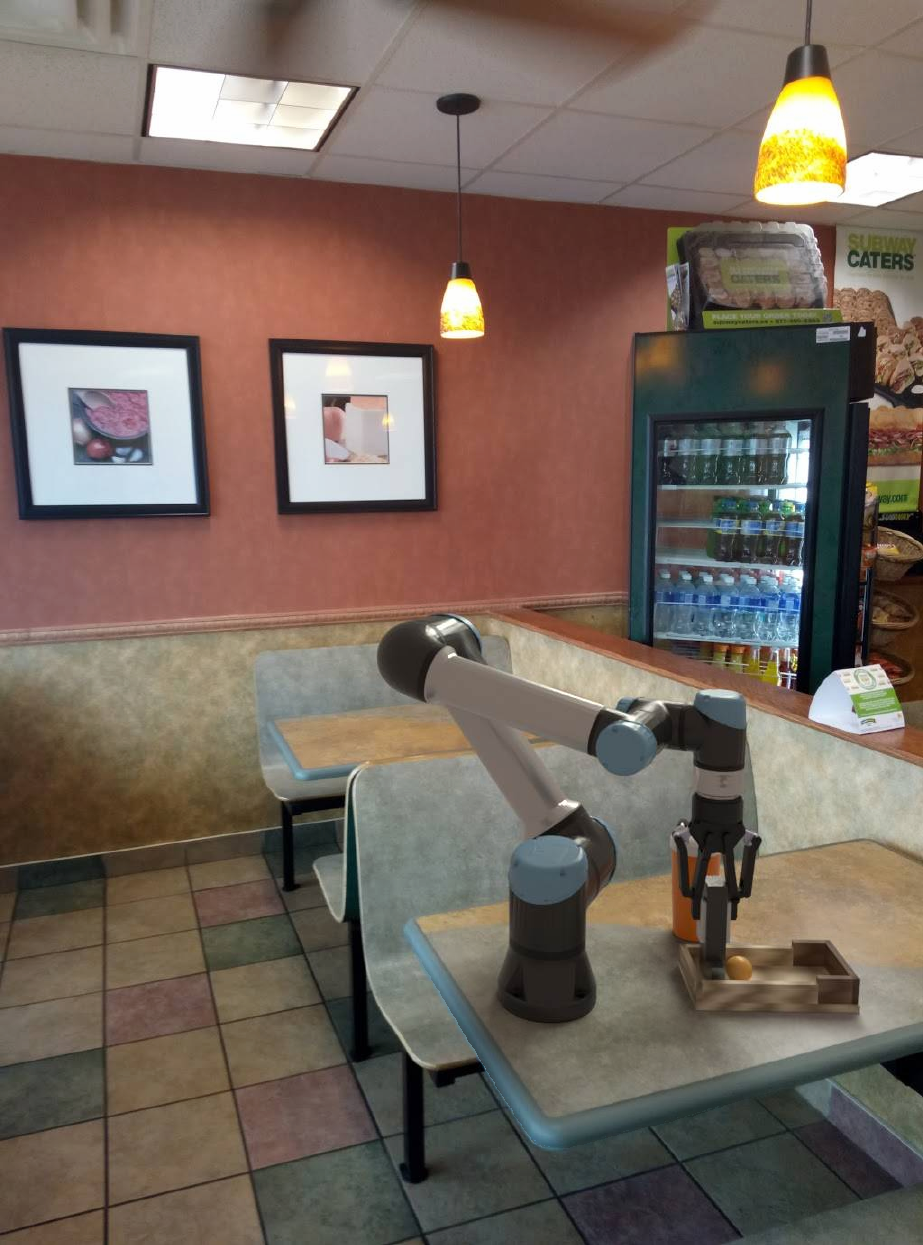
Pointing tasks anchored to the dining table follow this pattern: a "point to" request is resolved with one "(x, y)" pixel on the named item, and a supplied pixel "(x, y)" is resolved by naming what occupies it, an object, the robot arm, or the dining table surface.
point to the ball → (739, 968)
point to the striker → (714, 929)
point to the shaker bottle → (682, 905)
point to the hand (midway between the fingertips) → (712, 938)
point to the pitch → (776, 979)
